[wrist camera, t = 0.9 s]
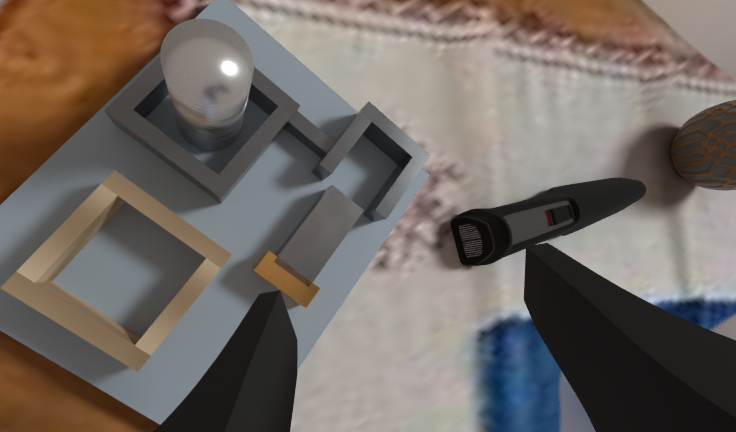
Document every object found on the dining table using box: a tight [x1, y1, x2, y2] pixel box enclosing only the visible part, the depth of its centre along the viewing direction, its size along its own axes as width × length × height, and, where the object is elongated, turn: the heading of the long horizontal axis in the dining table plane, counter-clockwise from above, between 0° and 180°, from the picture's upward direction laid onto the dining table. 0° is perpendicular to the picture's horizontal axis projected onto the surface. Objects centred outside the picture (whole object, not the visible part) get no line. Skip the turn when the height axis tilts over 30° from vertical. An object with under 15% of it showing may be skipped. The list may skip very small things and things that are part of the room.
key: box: [252, 185, 364, 308], centre depth 22 cm, size 6×3×2 cm, turn 144°
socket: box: [104, 57, 430, 222], centre depth 22 cm, size 9×13×2 cm
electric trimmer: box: [451, 178, 646, 266], centre depth 29 cm, size 4×15×3 cm, turn 105°
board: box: [0, 0, 429, 425], centre depth 22 cm, size 19×16×1 cm
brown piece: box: [1, 170, 232, 372], centre depth 19 cm, size 6×6×2 cm
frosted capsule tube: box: [160, 19, 254, 151], centre depth 19 cm, size 3×3×7 cm
